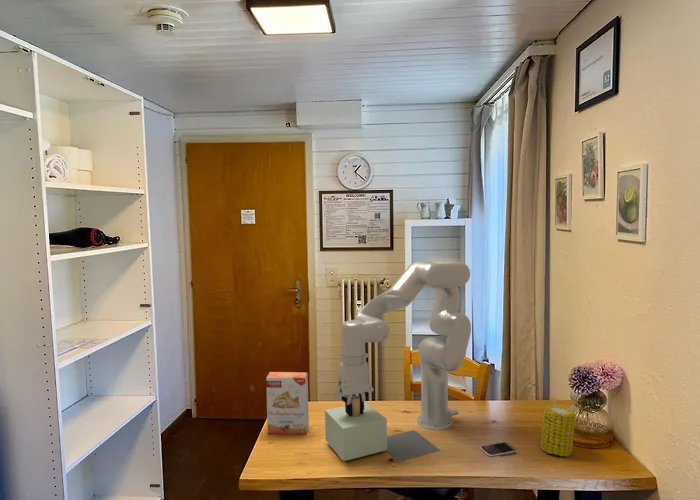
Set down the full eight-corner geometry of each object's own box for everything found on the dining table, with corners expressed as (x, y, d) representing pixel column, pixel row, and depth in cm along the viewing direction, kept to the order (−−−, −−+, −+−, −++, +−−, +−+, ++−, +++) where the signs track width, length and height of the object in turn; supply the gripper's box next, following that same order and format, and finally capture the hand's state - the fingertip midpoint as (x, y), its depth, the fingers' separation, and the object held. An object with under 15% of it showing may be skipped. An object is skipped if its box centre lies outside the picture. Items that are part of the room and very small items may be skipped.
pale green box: (366, 430, 166) (365, 386, 165) (387, 450, 152) (386, 401, 151) (325, 439, 160) (324, 393, 158) (343, 461, 146) (342, 411, 145)
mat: (414, 431, 168) (414, 429, 168) (440, 451, 153) (440, 450, 153) (373, 440, 161) (373, 439, 161) (397, 463, 147) (397, 462, 147)
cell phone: (478, 450, 154) (478, 446, 154) (508, 445, 158) (508, 441, 157) (489, 460, 149) (489, 455, 148) (519, 454, 152) (519, 450, 152)
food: (535, 452, 155) (559, 448, 158) (561, 461, 144) (587, 457, 147) (530, 404, 157) (554, 401, 160) (556, 409, 146) (581, 406, 149)
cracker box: (267, 434, 167) (265, 376, 165) (271, 426, 173) (269, 371, 171) (306, 435, 166) (305, 377, 164) (309, 427, 172) (307, 371, 170)
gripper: (371, 352, 160) (372, 404, 162) (325, 359, 154) (327, 414, 155) (381, 358, 154) (382, 413, 155) (334, 366, 147) (336, 423, 148)
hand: (354, 413), depth 155 cm, fingers closed on pale green box, 3 cm apart
